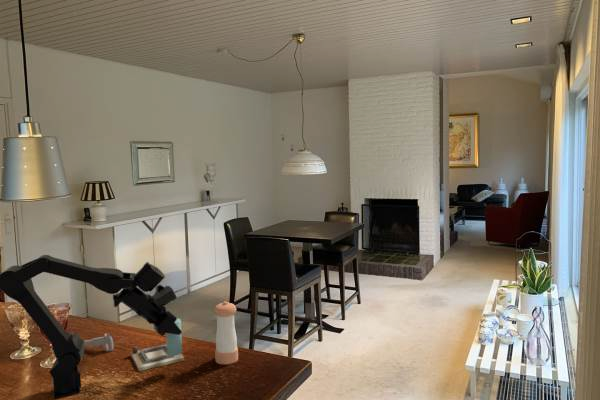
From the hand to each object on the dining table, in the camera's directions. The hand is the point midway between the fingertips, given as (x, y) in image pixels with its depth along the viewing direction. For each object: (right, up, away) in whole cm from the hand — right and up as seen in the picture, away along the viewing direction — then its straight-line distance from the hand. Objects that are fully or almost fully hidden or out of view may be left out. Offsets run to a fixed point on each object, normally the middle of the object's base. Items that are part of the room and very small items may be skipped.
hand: (178, 330), depth 142 cm
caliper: (-36, -11, +17) cm, 42 cm away
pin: (-1, -7, 0) cm, 7 cm away
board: (-9, -11, +10) cm, 18 cm away
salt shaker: (+14, -12, +8) cm, 20 cm away
